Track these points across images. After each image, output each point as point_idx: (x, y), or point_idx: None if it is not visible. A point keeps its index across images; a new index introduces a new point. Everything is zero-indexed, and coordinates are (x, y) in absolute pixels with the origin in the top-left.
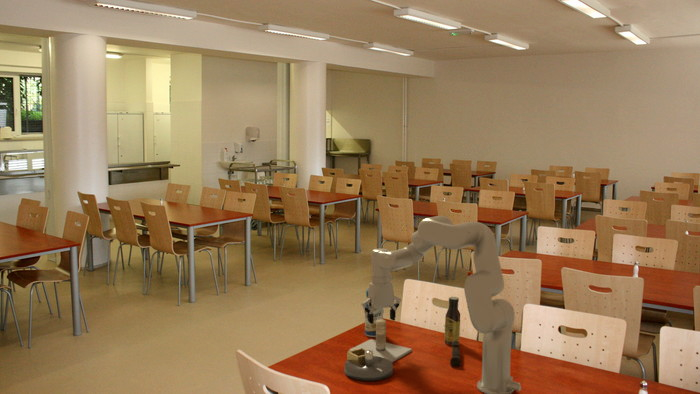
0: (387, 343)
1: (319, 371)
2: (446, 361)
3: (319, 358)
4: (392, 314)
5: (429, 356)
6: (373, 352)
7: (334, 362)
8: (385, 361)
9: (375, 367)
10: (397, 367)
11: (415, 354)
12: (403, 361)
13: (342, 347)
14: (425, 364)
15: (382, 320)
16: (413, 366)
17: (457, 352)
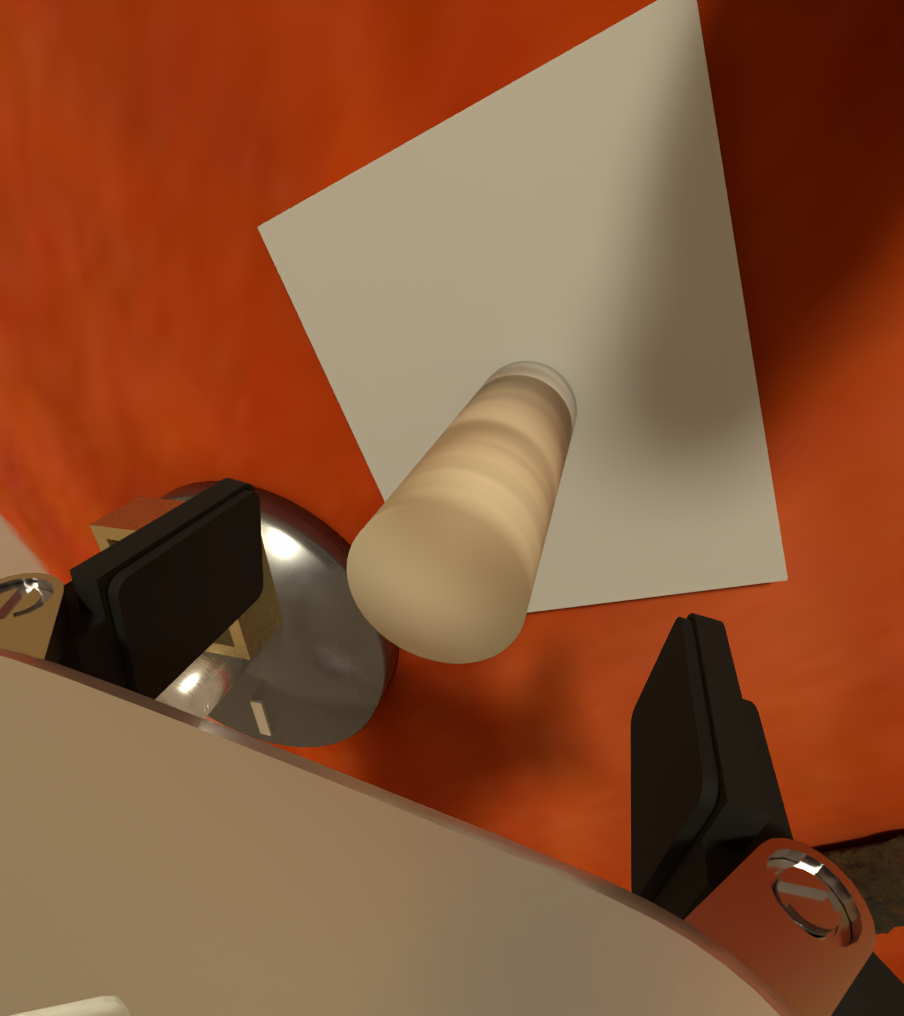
0: (726, 304)
1: (17, 433)
2: (791, 817)
3: (22, 218)
4: (641, 799)
5: (788, 712)
6: (423, 430)
7: (115, 365)
8: (349, 674)
9: (257, 685)
10: (444, 672)
11: (737, 625)
12: (544, 645)
13: (260, 32)
14: (627, 754)
15: (465, 598)
16: (538, 723)
17: (895, 924)
